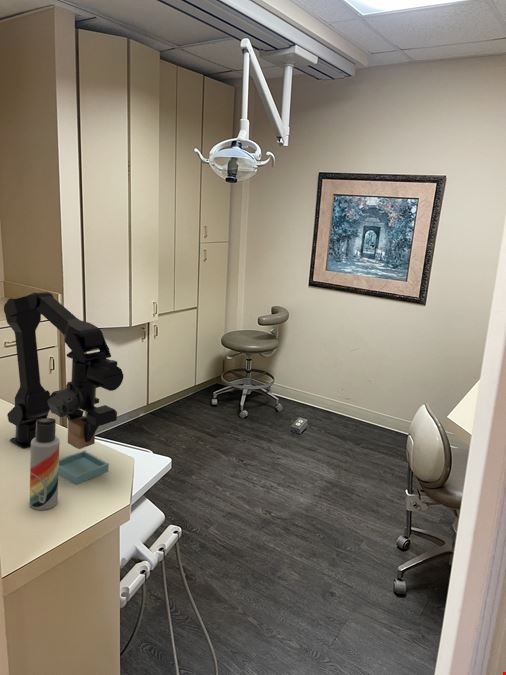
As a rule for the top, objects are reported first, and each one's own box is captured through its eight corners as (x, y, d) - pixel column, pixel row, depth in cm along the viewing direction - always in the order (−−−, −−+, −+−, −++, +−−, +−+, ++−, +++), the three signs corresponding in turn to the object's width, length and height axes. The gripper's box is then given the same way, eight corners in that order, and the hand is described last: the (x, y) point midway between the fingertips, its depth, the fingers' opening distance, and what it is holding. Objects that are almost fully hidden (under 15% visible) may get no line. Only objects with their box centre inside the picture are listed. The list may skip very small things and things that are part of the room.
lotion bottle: (29, 512, 107) (31, 425, 102) (29, 497, 112) (31, 414, 107) (58, 508, 109) (61, 423, 104) (56, 494, 114) (59, 413, 109)
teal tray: (51, 469, 124) (51, 462, 123) (84, 457, 132) (84, 450, 131) (75, 484, 119) (75, 477, 118) (108, 470, 127) (108, 463, 126)
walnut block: (82, 437, 127) (83, 415, 125) (94, 443, 124) (95, 421, 123) (67, 443, 123) (68, 420, 122) (79, 449, 121) (80, 426, 119)
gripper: (30, 374, 118) (29, 435, 122) (80, 397, 108) (77, 463, 112) (70, 366, 127) (68, 423, 131) (120, 387, 117) (116, 447, 121)
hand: (81, 438), depth 123 cm, fingers closed on walnut block, 4 cm apart
